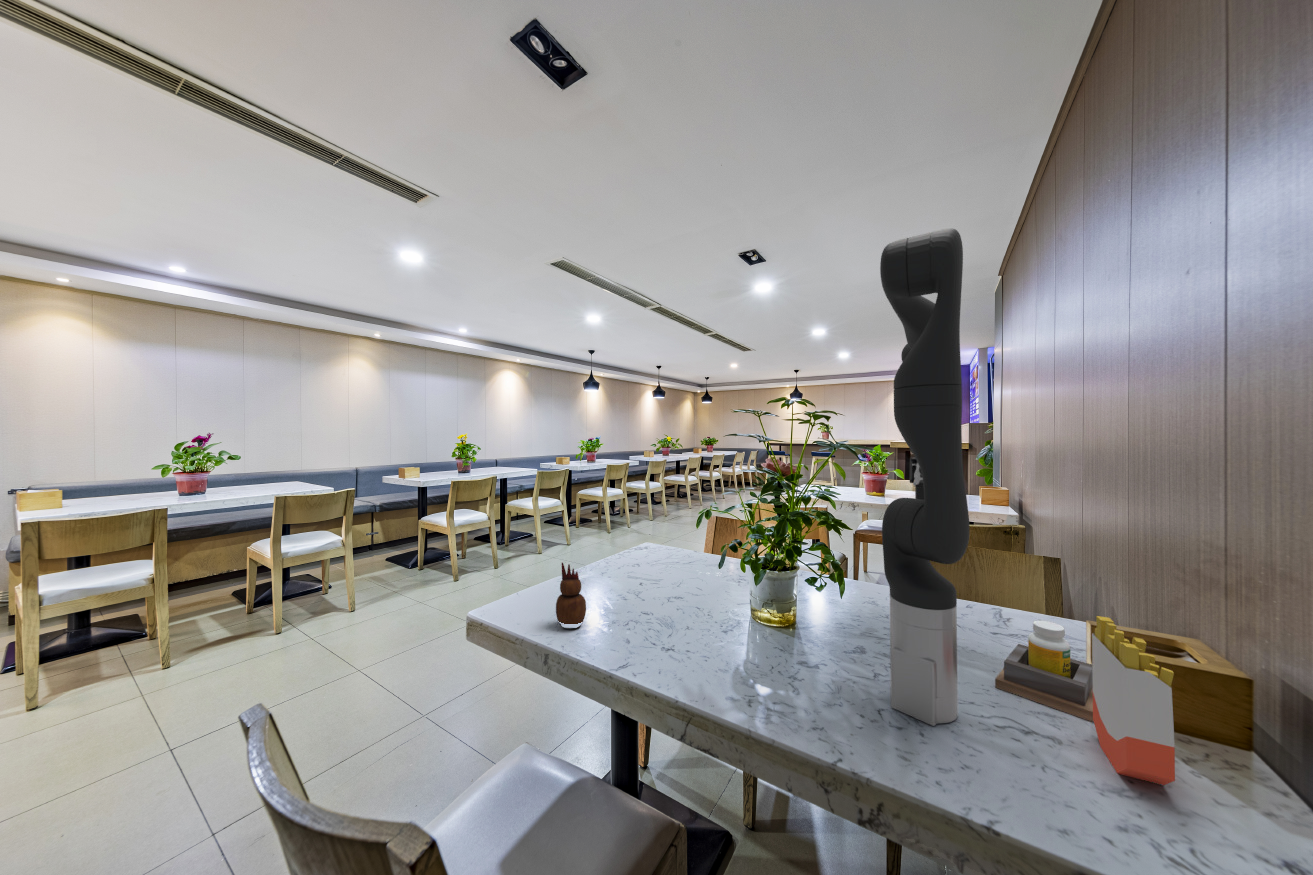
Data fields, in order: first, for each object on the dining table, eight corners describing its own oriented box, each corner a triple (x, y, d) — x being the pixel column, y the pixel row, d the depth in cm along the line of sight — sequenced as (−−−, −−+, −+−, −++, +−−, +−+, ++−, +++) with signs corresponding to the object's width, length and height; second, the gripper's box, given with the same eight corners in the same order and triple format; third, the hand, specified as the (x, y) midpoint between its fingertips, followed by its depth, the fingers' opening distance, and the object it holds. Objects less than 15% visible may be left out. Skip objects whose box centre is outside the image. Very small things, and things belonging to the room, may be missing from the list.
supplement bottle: (1030, 669, 78) (1030, 615, 78) (1071, 681, 74) (1071, 624, 74) (1026, 681, 75) (1026, 625, 75) (1069, 694, 71) (1069, 635, 71)
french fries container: (1136, 745, 61) (1135, 616, 61) (1180, 802, 52) (1178, 650, 52) (1092, 734, 63) (1091, 610, 63) (1125, 787, 54) (1124, 642, 54)
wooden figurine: (551, 630, 100) (550, 564, 100) (564, 619, 106) (563, 557, 106) (578, 633, 98) (577, 566, 98) (589, 622, 104) (589, 559, 104)
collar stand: (1093, 721, 66) (1092, 692, 66) (995, 687, 75) (995, 661, 75) (1103, 691, 74) (1102, 665, 74) (1013, 663, 83) (1012, 640, 83)
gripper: (969, 431, 87) (969, 512, 87) (931, 431, 101) (932, 502, 101) (929, 431, 88) (930, 512, 88) (897, 432, 102) (898, 501, 102)
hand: (931, 506), depth 94 cm, fingers open, 8 cm apart
